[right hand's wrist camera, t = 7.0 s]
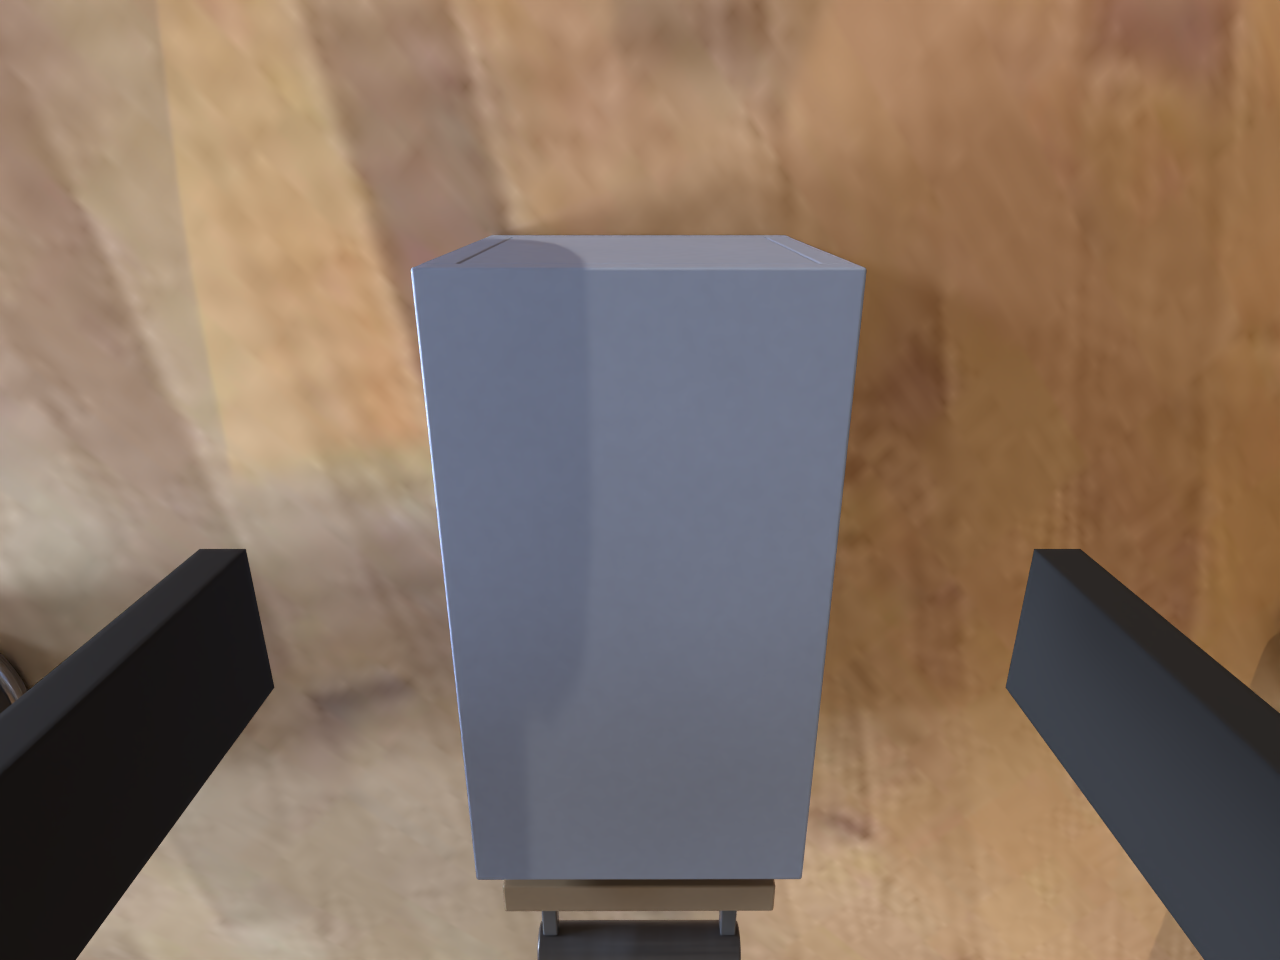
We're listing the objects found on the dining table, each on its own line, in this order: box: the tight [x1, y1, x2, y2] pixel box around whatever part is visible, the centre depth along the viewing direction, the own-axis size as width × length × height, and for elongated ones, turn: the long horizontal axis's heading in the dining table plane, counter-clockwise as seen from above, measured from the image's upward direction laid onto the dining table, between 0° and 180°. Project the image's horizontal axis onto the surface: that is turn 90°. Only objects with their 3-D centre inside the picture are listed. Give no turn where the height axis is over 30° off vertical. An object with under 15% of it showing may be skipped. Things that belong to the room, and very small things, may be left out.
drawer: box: [503, 879, 775, 960], centre depth 28 cm, size 24×9×8 cm, turn 0°
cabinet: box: [411, 235, 866, 880], centre depth 26 cm, size 19×11×10 cm, turn 0°
